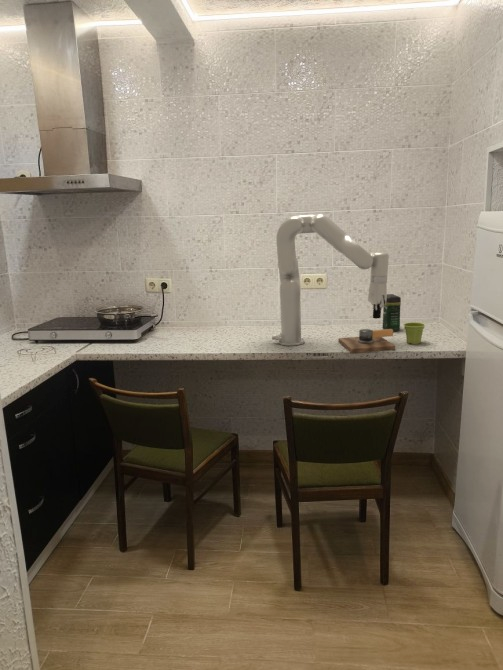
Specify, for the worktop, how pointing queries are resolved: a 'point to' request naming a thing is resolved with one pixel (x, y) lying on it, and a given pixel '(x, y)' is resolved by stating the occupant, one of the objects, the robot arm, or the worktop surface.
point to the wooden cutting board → (366, 344)
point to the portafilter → (374, 334)
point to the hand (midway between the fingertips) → (376, 318)
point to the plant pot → (414, 332)
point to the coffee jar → (392, 312)
